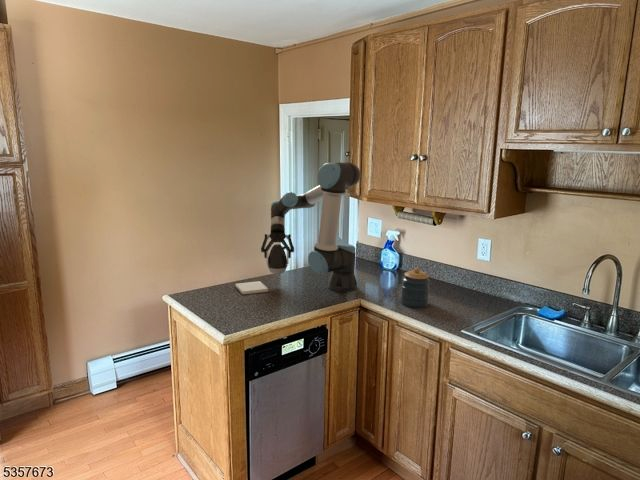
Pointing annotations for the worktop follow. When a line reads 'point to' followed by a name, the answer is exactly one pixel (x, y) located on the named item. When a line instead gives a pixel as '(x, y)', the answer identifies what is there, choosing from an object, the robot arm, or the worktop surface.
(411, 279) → the canister
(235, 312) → the worktop surface
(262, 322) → the worktop surface
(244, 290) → the tile pad
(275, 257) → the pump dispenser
